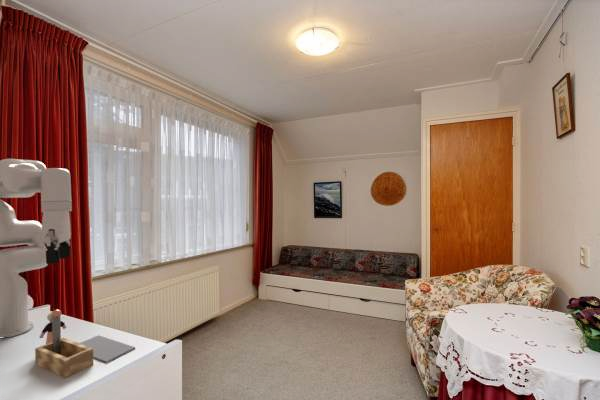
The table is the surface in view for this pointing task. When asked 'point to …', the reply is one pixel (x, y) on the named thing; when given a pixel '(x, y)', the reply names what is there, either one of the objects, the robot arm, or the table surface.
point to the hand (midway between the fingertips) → (59, 260)
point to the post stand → (56, 331)
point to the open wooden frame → (64, 358)
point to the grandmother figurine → (50, 329)
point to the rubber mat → (107, 348)
